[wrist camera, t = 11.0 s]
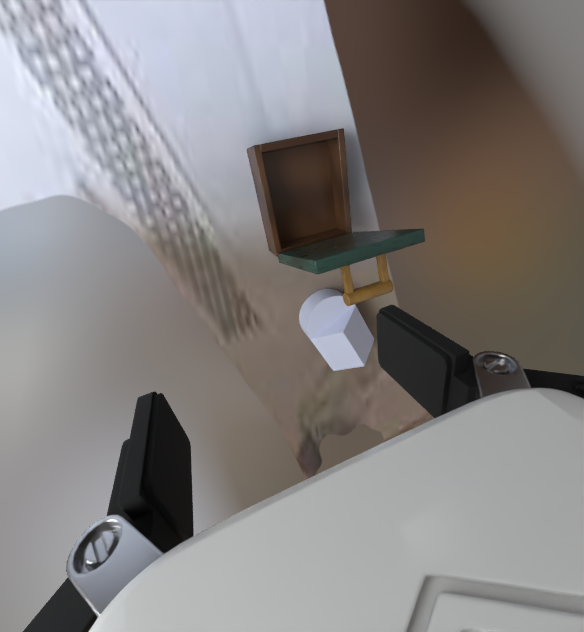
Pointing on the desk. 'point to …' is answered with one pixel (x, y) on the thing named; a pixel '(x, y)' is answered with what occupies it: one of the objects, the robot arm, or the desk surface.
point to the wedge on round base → (336, 329)
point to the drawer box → (302, 189)
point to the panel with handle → (353, 258)
